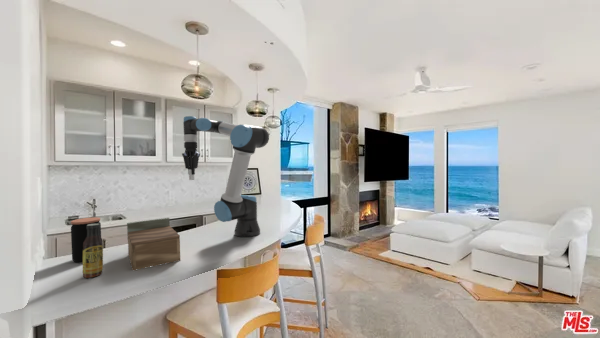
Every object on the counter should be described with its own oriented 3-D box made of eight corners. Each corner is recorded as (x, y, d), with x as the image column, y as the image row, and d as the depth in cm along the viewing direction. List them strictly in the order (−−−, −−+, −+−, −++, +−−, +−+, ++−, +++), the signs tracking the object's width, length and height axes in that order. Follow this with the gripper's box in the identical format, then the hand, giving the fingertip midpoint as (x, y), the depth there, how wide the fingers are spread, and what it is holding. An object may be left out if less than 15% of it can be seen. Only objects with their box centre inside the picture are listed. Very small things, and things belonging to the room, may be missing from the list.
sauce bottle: (84, 280, 100) (82, 227, 100) (81, 276, 104) (78, 225, 104) (106, 274, 105) (104, 224, 105) (101, 270, 109) (99, 221, 109)
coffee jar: (104, 253, 130) (102, 216, 130) (99, 260, 121) (97, 220, 120) (76, 257, 126) (74, 218, 125) (68, 265, 116) (66, 223, 116)
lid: (127, 239, 128) (127, 222, 128) (169, 233, 139) (168, 217, 139) (131, 253, 108) (131, 233, 108) (179, 244, 119) (179, 226, 119)
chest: (128, 255, 126) (127, 234, 126) (170, 248, 137) (169, 228, 137) (132, 270, 109) (131, 246, 108) (180, 260, 119) (179, 238, 119)
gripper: (203, 141, 168) (204, 179, 169) (187, 142, 173) (188, 179, 174) (193, 141, 161) (195, 180, 162) (178, 142, 166) (179, 180, 167)
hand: (191, 179), depth 168 cm, fingers closed
